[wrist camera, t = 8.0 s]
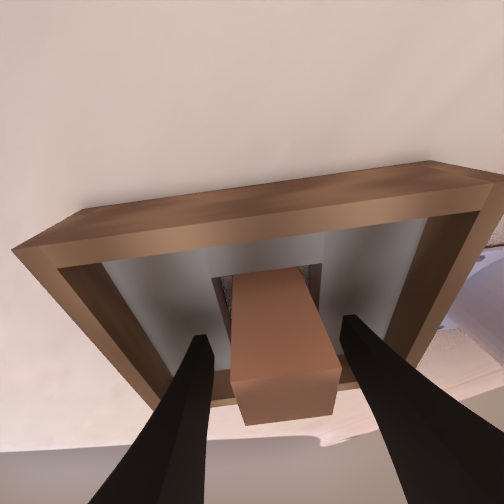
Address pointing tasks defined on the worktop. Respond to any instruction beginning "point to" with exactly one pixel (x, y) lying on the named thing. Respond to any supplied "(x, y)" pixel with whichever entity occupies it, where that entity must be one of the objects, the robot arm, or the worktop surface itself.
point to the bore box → (268, 262)
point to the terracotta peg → (280, 349)
